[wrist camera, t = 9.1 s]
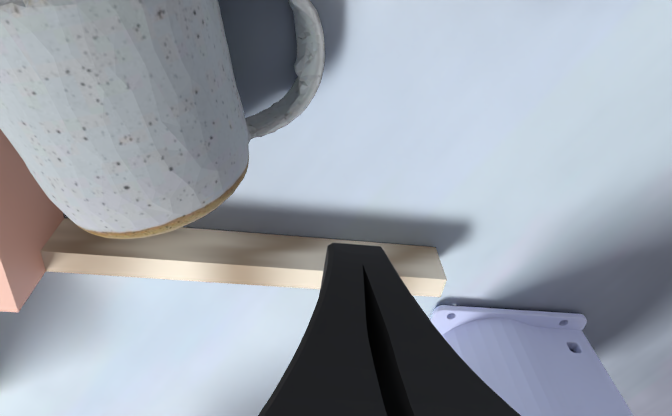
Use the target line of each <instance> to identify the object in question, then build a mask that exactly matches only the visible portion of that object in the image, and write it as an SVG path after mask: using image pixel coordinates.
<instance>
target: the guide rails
mask: <svg viewBox="0 0 672 416" xmlns="http://www.w3.org/2000/svg"><path fill="white" fill-rule="evenodd" d="M331 243H345V244H357V245H370V246H381V247H382V249H383V250H384V251H385V253H386V255H387V256H388V258H389V260H390V261H391V263H392V265H393V266H394V268H395V270H396V271H397V273H398V274H399V276H400V278H401V279H402V281H403V282H404V284H405V285H406V287H407V288H408V290H409V291H410V293H411V294H412V295H415V296H430V297H441V294H442V292H443V289H444V286H445V283H446V281H447V279H446V276H445V273H444V270H443V267H442V264H441V262H440V259H439V256H438V253H437V250H436V247H427V246H414V245H401V244H389V243H376V242H363V241H350V240H338V239H325V238H312V237H299V236H287V235H274V234H261V233H248V232H236V231H223V230H210V229H197V228H185V227H181V228H178V229H176V230H173V231H170V232H167V233H163V234H158V235H154V236H149V237H145V238H133V239H113V238H105V237H101V236H97V235H94V234H91V233H88V232H87V231H85V230H83V229H81V228H80V227H78V226H77V225H76V224H75V223H74V222H73V221H72V220H70V219H69V218H64V219H63V220H62V222H61V223H60V225H59V226H58V227H57V229H56V230H55V232H54V233H53V234H52V236H51V237H50V238H49V240H48V241H47V243H46V244H45V245H44V247H43V248H42V250H41V251H40V252H41V255H42V259H43V263H44V266H45V270H46V271H48V272H64V273H79V274H94V275H109V276H125V277H140V278H155V279H170V280H186V281H201V282H216V283H232V284H247V285H262V286H277V287H293V288H308V289H320V288H321V282H322V276H323V270H324V264H325V258H326V252H327V246H328V245H330V244H331Z"/></svg>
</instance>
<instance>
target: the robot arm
mask: <svg viewBox="0 0 672 416" xmlns="http://www.w3.org/2000/svg"><path fill="white" fill-rule="evenodd" d="M450 313H452V314H450ZM586 324H587V319H586V318H585V316H584V315H583V314H574V313H559V312H543V311H527V310H511V309H495V308H480V307H464V306H448V305H440V306H437V307H436V308H435V309H434V310H433V313H432V316H431V318H430V320H429V318H428V317H427V316H426V314H425V313H424V311H423V310H422V309H421V307H420V306H419V304H418V303H417V302H416V300H415V299H414V297H413V296H412V294H411V293H410V291H409V290H408V288H407V287H406V285H405V284H404V282H403V281H402V279H401V278H400V276H399V274H398V273H397V271H396V270H395V268H394V266H393V265H392V263H391V261H390V260H389V258H388V256H387V255H386V253H385V251H384V250H383V249H382V247H381V246H370V245H357V244H345V243H331V244H330V245H328V246H327V252H326V258H325V264H324V270H323V276H322V282H321V288H320V294H319V299H318V302H317V305H316V307H315V310H314V312H313V315H312V317H311V320H310V322H309V325H308V327H307V329H306V332H305V334H304V336H303V338H302V340H301V343H300V345H299V347H298V349H297V351H296V353H295V355H294V357H293V359H292V360H291V362H290V364H289V366H288V368H287V370H286V371H285V373H284V375H283V377H282V378H281V380H280V382H279V384H278V385H277V387H276V389H275V390H274V392H273V394H272V395H271V397H270V398H269V400H268V401H267V403H266V404H265V406H264V408H263V409H262V411H261V412H260V414H259V415H258V416H633V414H632V412H631V410H630V409H629V407H628V405H627V404H626V402H625V400H624V399H623V397H622V395H621V394H620V392H619V391H618V389H617V387H616V386H615V384H614V382H613V381H612V379H611V377H610V376H609V374H608V372H607V371H606V369H605V368H604V366H603V364H602V363H601V361H600V359H599V358H598V356H597V354H596V353H595V351H594V350H593V348H592V346H591V345H590V343H589V341H588V340H587V338H586V336H585V335H584V333H583V332H582V330H583V328H584V327H585V325H586Z"/></svg>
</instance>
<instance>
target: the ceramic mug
mask: <svg viewBox="0 0 672 416" xmlns="http://www.w3.org/2000/svg"><path fill="white" fill-rule="evenodd" d="M288 1H289V5H290V7H291V8H292V10H293V13H294V21H295V32H296V40H297V59H296V62H295V64H294V69H295V72H296V74H297V75H298V76H297V78H296V81H295V83H294V85H293V86H292V87H291V89H290V90H289V91H288V93H287V94H286V95H285V96H284V97H283V98H282V99H281V100H280V101H278V102H276V103H274V104H273V105H272V106H271V107H270V108H268V109H265V110H263V111H261V112H259V113H257V114H255V115H252V116H250V117H247V118H245V115H244V111H243V107H242V103H241V99H240V96H239V93H238V90H237V87H236V81H235V77H234V73H233V68H232V64H231V59H230V53H229V48H228V44H227V40H226V36H225V32H224V26H223V21H222V18H221V12H220V6H219V3H218V0H0V129H1V130H2V132H3V133H4V134H5V136H6V137H7V138H8V140H9V141H10V142H11V144H12V145H13V146H14V148H15V149H16V151H17V152H18V153H19V155H20V156H21V158H22V159H23V161H24V162H25V164H26V166H27V167H28V169H29V171H30V173H31V174H32V175H33V177H34V178H35V180H36V181H37V183H38V184H39V185H40V187H41V188H42V190H43V191H44V192H45V194H46V195H47V196H48V198H49V199H50V200H51V201H52V202H53V203H54V204H55V205H56V206H57V207H58V208H59V209H60V210H61V211H62V212H63V213H64V214H65V215H66V216H67V217H68V218H69V219H70V220H72V221H73V222H74V223H75V224H76V225H77V226H78V227H80V228H81V229H83V230H85V231H87V232H88V233H91V234H94V235H97V236H101V237H105V238H113V239H133V238H145V237H149V236H154V235H158V234H163V233H167V232H170V231H173V230H176V229H178V228H181V227H183V226H185V225H187V224H190V223H192V222H194V221H196V220H198V219H200V218H202V217H204V216H206V215H207V214H209V213H210V212H212V211H213V210H215V209H216V208H217V207H218V206H220V205H221V204H222V203H223V202H224V201H225V200H226V199H227V198H228V197H230V196H231V195H232V194H233V193H234V191H235V190H236V188H237V187H238V185H239V184H240V182H241V181H242V180H243V178H244V176H245V174H246V172H247V168H248V161H249V150H248V143H249V141H250V140H251V139H252V138H254V137H262V136H264V135H266V134H269V133H273V132H275V131H276V130H278V129H280V128H282V127H284V126H286V125H288V124H289V123H290V122H291V121H293V120H294V119H295V118H296V117H298V116H299V115H300V114H301V113H302V112H303V111H304V110H305V109H306V108H307V106H308V105H309V103H310V102H311V100H312V99H313V97H314V96H315V93H316V91H317V89H318V87H319V85H320V83H321V79H322V74H323V70H324V63H325V44H324V32H323V29H322V25H321V22H320V18H319V15H318V12H317V10H316V9H315V7H314V6H313V4H312V3H311V2H310V0H288Z"/></svg>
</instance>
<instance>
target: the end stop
mask: <svg viewBox="0 0 672 416" xmlns="http://www.w3.org/2000/svg"><path fill="white" fill-rule="evenodd" d="M63 219H64V215H63V212H62V211H61V210H60V209H59V208H58V207H57V206H56V205H55V204H54V203H53V202H52V201H51V200H50V199H49V198H48V196H47V195H46V194H45V192H44V191H43V190H42V188H41V187H40V185H39V184H38V183H37V181H36V180H35V178H34V177H33V175H32V174H31V173H30V171H29V169H28V167H27V166H26V164H25V162H24V161H23V159H22V158H21V156H20V155H19V153H18V152H17V151H16V149H15V148H14V146H13V145H12V144H11V142H10V141H9V140H8V138H7V137H6V136H5V134H4V133H3V132H2V130H1V129H0V311H3V312H19V311H20V309H21V308H22V306H23V305H24V303H25V302H26V300H27V299H28V297H29V296H30V294H31V293H32V291H33V290H34V288H35V287H36V285H37V284H38V282H39V281H40V279H41V278H42V276H43V275H44V273H45V272H46V270H45V266H44V263H43V259H42V255H41V252H40V251H41V250H42V248H43V247H44V245H45V244H46V243H47V241H48V240H49V238H50V237H51V236H52V234H53V233H54V232H55V230H56V229H57V227H58V226H59V225H60V223H61V222H62V220H63Z"/></svg>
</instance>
